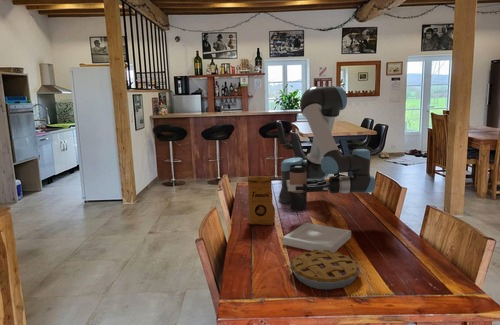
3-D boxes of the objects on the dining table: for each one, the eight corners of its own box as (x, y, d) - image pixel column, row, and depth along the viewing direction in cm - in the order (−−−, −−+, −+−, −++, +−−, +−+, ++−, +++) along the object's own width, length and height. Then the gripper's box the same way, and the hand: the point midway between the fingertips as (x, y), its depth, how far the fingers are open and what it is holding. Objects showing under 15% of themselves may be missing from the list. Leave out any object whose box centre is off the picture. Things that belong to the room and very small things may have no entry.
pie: (314, 299, 106) (314, 283, 105) (278, 268, 126) (277, 254, 125) (374, 282, 115) (375, 267, 114) (332, 256, 134) (332, 243, 134)
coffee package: (274, 227, 166) (273, 178, 162) (246, 226, 168) (245, 178, 164) (276, 220, 175) (275, 174, 172) (250, 219, 178) (248, 174, 174)
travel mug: (308, 207, 172) (308, 164, 168) (305, 212, 165) (305, 167, 161) (292, 206, 174) (291, 163, 171) (288, 211, 167) (287, 167, 164)
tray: (282, 244, 146) (282, 237, 146) (306, 229, 162) (306, 222, 162) (331, 255, 135) (331, 247, 134) (351, 237, 151) (351, 230, 150)
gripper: (343, 199, 158) (288, 200, 158) (334, 187, 177) (286, 188, 178) (343, 181, 156) (288, 182, 157) (334, 171, 176) (285, 172, 177)
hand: (287, 185), depth 168 cm, fingers closed on travel mug, 7 cm apart
